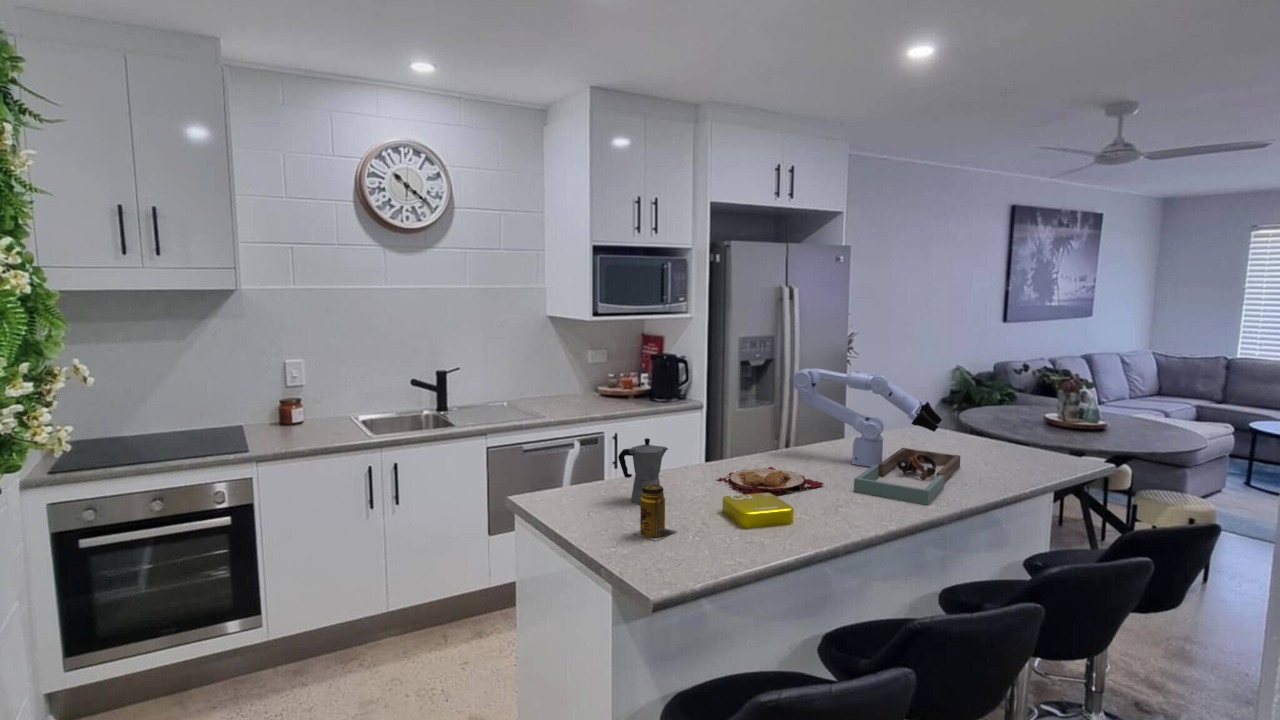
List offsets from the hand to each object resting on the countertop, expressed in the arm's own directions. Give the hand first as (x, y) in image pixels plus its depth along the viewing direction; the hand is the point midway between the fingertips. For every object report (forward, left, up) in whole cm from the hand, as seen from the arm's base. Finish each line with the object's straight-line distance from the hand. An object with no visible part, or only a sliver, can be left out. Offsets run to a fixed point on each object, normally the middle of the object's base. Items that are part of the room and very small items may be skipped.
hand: (938, 425), depth 225 cm
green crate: (-4, -27, -16) cm, 32 cm away
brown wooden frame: (-4, -3, -16) cm, 17 cm away
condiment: (-43, -101, -16) cm, 111 cm away
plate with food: (-40, -45, -17) cm, 63 cm away
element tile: (-28, -75, -16) cm, 82 cm away
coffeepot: (-60, -82, -16) cm, 103 cm away
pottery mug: (-4, -9, -16) cm, 19 cm away
